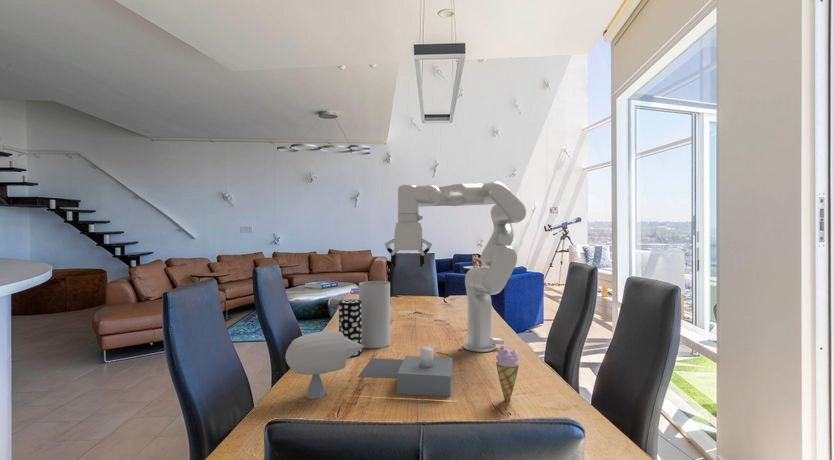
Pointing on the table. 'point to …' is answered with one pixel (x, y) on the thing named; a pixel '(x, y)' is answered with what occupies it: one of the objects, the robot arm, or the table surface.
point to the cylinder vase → (375, 313)
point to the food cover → (425, 374)
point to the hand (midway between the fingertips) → (408, 266)
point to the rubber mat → (382, 368)
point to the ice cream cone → (507, 370)
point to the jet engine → (320, 357)
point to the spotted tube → (351, 321)
